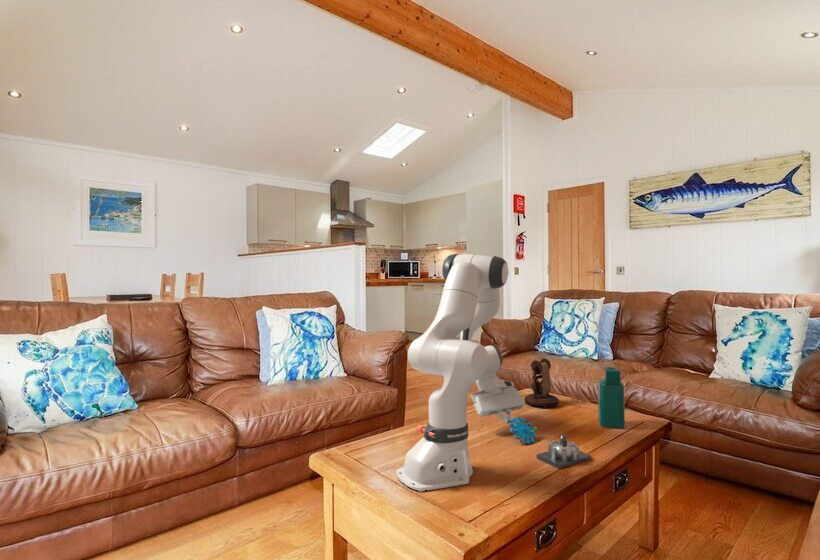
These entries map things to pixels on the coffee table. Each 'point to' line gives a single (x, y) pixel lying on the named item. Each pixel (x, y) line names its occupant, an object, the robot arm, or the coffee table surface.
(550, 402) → the dark brown figurine
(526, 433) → the gear
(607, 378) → the green bottle
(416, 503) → the coffee table surface
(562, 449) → the grey metal fixture
